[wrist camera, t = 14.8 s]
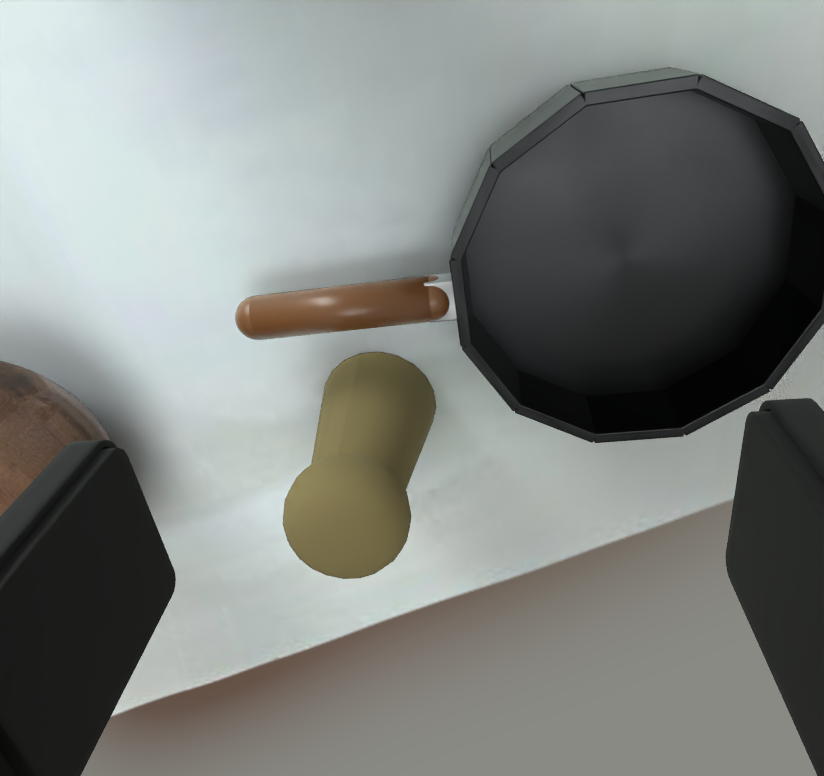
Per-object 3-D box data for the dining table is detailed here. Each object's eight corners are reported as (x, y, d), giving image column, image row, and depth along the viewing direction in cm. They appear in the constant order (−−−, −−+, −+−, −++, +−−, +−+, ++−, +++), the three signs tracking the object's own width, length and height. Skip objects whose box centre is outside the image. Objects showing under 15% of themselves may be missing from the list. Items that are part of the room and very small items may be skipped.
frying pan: (292, 423, 36) (271, 467, 33) (213, 139, 29) (175, 155, 26) (779, 382, 32) (816, 427, 29) (820, 43, 25) (874, 46, 22)
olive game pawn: (434, 454, 36) (415, 608, 27) (326, 446, 37) (269, 595, 27) (437, 355, 33) (418, 488, 24) (320, 348, 34) (254, 476, 24)
